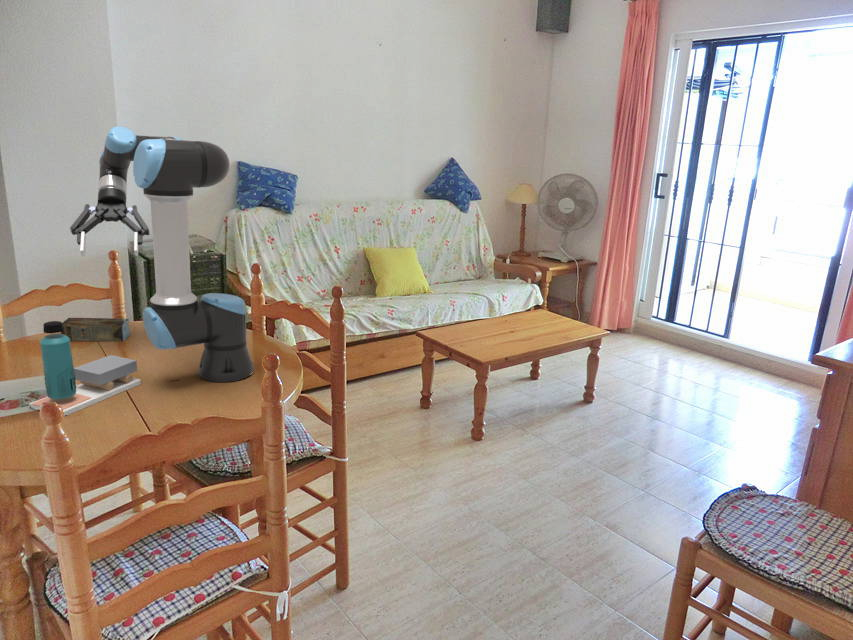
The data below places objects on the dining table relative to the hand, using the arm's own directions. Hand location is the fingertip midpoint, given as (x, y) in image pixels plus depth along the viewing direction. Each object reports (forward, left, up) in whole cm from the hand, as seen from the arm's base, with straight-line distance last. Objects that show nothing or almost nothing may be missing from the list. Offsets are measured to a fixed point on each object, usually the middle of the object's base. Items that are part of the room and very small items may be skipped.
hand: (109, 253), depth 173 cm
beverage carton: (+24, -13, -33) cm, 43 cm away
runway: (-13, +22, -33) cm, 41 cm away
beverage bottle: (-13, +29, -31) cm, 45 cm away
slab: (-12, +16, -29) cm, 35 cm away
